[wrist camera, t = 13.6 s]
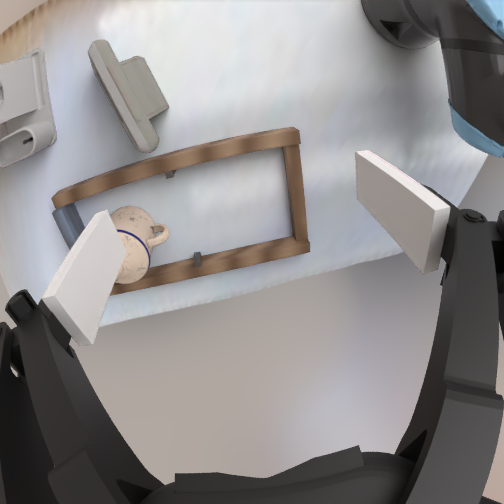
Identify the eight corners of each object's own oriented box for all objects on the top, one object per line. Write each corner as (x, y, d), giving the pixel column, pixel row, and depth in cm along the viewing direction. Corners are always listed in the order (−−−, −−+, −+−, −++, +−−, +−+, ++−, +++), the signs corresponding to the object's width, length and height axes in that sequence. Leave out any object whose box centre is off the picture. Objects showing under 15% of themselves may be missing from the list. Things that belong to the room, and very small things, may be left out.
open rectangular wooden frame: (293, 126, 40) (302, 132, 36) (305, 242, 52) (312, 257, 48) (58, 190, 39) (47, 202, 35) (105, 287, 51) (100, 302, 47)
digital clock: (93, 59, 29) (61, 56, 20) (151, 36, 29) (133, 22, 20) (122, 155, 38) (98, 178, 29) (177, 136, 38) (168, 154, 29)
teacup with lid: (120, 257, 48) (104, 301, 38) (98, 213, 42) (73, 252, 33) (181, 239, 48) (176, 283, 38) (162, 191, 42) (150, 227, 33)
